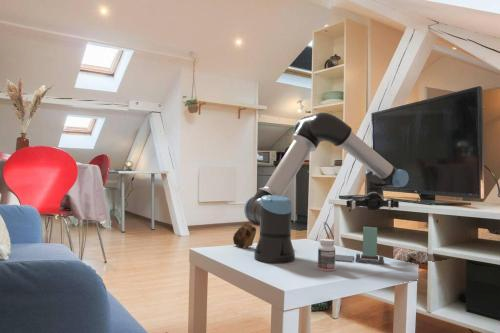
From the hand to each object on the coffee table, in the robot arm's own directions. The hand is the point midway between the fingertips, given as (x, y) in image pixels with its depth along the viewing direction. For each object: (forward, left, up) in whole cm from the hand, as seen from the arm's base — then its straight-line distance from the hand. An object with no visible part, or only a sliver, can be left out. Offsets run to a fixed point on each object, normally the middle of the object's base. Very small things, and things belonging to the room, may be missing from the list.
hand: (370, 205), depth 145 cm
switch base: (0, -5, -21) cm, 21 cm away
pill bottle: (-14, -23, -21) cm, 34 cm away
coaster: (-11, -3, -21) cm, 24 cm away
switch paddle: (0, -5, -19) cm, 19 cm away
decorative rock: (-52, +3, -21) cm, 56 cm away
